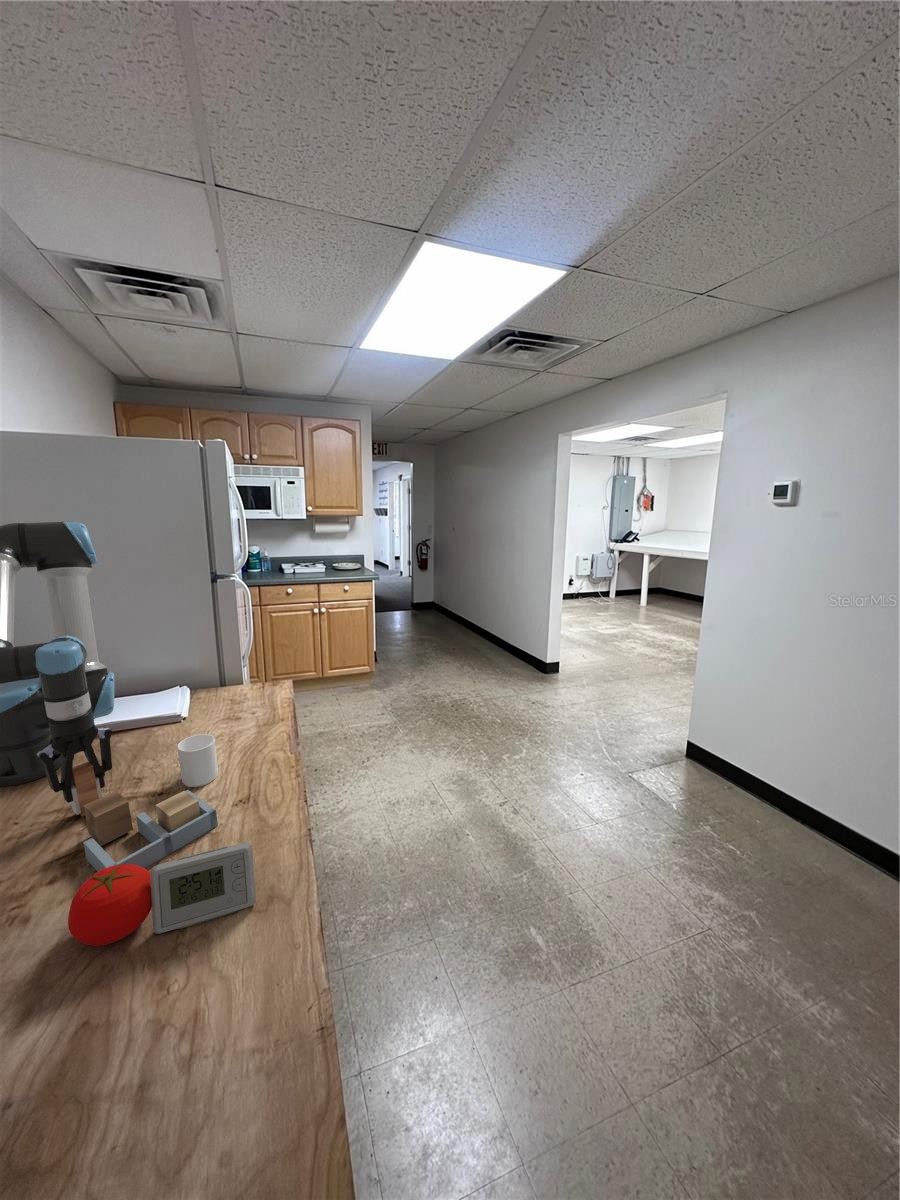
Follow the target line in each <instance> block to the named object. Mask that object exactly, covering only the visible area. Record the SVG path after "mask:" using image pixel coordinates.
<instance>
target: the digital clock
mask: <svg viewBox="0 0 900 1200" xmlns="http://www.w3.org/2000/svg"><path fill="white" fill-rule="evenodd" d="M254 868H255V866H254V853H253V847H252V844H251V843H250V842H242V843H238V844H234V845H229V846H226V845H225V846H223V847H222V846H221V847H218V848H215V849H211V850H207V851H202V852H198V853H193V854H191V855H187V856H182V857H178V858H177V859H174V860H171V861H167V862H163V863H159V864H156V865H155V866H153V867H152V868H151V869H150V871H149V872H150V882H151V899H152V908H151V912H152V913H151V914H152V916H151V917H152V928H153V931H154V933H155V934H164V933H167V932H170V931H173V930H176V929H178V930H180V929H184V928H187V927H190V926H194V925H197V924H201V923H204V922H207V921H211V920H214V919H218V918H221V917H224V916H227V915H230V914H234V913H236V912H238V911H240V910H243V909H246V908H250V907H252V906H254V905H255V904H256V900H257V894H256V893H257V891H256V880H255V877H256V876H255V869H254ZM217 917H218V918H217Z"/></svg>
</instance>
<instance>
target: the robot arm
mask: <svg viewBox="0 0 900 1200" xmlns="http://www.w3.org/2000/svg"><path fill="white" fill-rule="evenodd" d="M92 542H93V541H92V539H91V536H90V534H89V530H88V528H87V526H86V525H85V524H84V523H81V522H77V521H76V522H75V521H74V522H73V521H72V522H71V521H52V522H49V521H48V522H47V521H46V522H21V523H20V522H13V523H11V522H10V523H6V524H2V525H0V685H2V684H4V685H2V686H0V787H9V786H16V785H21V784H26V783H29V782H32V781H33V782H34V781H36V780H38V779H41V778H43V777H45V776H46V779H47V782H48V785H49V788H50V789H51V790H52V791H53V792H54V793H59V792H61V791H62V795H63V800H64V801H66V803H68V804H70V806H71V809H72V811H73V813H75V814H76V815H80V813H81V810H80V805H79V800H78V795H77V790H76V787H75V786H74V785H73V784H72V768H73V766H74V765H73V764H74V763H73V762H74V760H75V755H76V754H78V753H80V752H83V753H84V755H85V758H86V761H88V762H89V763H90V764H91V765H92V766H93V769H94V775H95V780H96V786H97V791H98V797H99V798H101V797H103V794H102V790H101V789H102V788H105V786H106V783H105V778H104V777H105V776H106V773H107V772H108V771H111V770H112V769H113V764H112V763H113V760H112V759H113V758H112V750H111V738H112V734H113V730H111V728H109V727H107V726H103V727H102V728H101V727H100V728H98V727H97V726H96V724H95V719H99V718H102V717H106V716H109V715H111V714H112V713H113V712H114V709H115V708H114V707H115V688H116V687H115V672H111V671H108V666H107V665H105V664H103V663H101V662H100V659H99V652H98V646H97V645H98V644H97V638H96V632H95V626H94V618H93V612H92V605H91V599H90V593H89V585H88V579H87V577H88V575H89V574H90V573H92V572H93V566H92V565H95V564H97V563H98V558H97V556H96V552H95V548H94V546H93V543H92ZM24 568H27V569H28V568H36V571H37V574H38V575H39V576H41V577H42V578H43V579H45V582H46V589H47V594H48V601H49V602H48V603H49V610H50V616H51V622H52V629H53V635H54V638H53V639H51V640H50V641H49V642H41V643H34V644H33V643H32V644H28V645H19V646H15V642H14V641H15V610H16V609H15V607H16V606H15V604H16V603H15V602H16V601H15V600H16V597H15V596H16V577H17V576H19V574H20V573H21V570H22V569H24ZM96 737H98V738H99V749H100V760H101V761H100V762H101V764H100V762H99V760H98V757H97V755H96V754H95V750H94V748H93V745H92V744H93V742H94V741H95V739H96ZM59 768H61V769H60V770H61V771H60V781H59V777H58V774H57V771H56V770H58V769H59Z"/></svg>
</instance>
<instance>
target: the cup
mask: <svg viewBox="0 0 900 1200" xmlns="http://www.w3.org/2000/svg"><path fill="white" fill-rule="evenodd" d="M177 754H178V760H179V761H178V762H179V769H180V777H181V781H182V783H183V785H185V786H186V787H189V788H198V787H203V786H205V785H208V784H209V783H211V782H213V781H214V780H215V779H216V778H217V776H218V775H219V769H218V757H217V748H216V740H215V737H214V736H213V735H212V734H207V733H202V734H201V733H200V734H195V735H191V736H189V737H186V738H183V739H182V740H180V742H179V743H178V744H177Z"/></svg>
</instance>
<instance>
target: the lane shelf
mask: <svg viewBox="0 0 900 1200" xmlns="http://www.w3.org/2000/svg"><path fill="white" fill-rule="evenodd" d="M185 791H186V792H187V793H188V794H190V795H191V796H192V797H194V798H195V799H197V800H198V801H199V809H200V817H198V818H196V819H194V820H192V821H191V822H189V823H187V824H185V825H183V826H182V827H180V828H178V829H176V830H174V831H173V832H171V833H168V832H167V831H165V830H164V829H163V828H162V827H161V826H160V825H159V824H158V822H156V821H155V820H154V819H153V818H151V817H150V816H149V815H148V814H147V813H146V812H145V811H142V812H140V813H138V814H136V815H135V816H136V817H135V818H136V823H137V830H138V832H139V834H141V836H142V837H144V838H145V839H146V840H147V841H148V842H149V844H147V845H145V846H144V847H142V848H140V849H138V850H137V851H135V852H133V853H131V854H129V855H128V856H126V857H124V858H122V859H120V860H119V861H117V862H116V861H115V860H114V859H113V858H112V856H110V855H109V854H108V853H107V851H105V850H104V848H103V847H102V846H100V845H99V844H98V843H97V842H96V841H95V840H94V839H93V838H92V837H91V838H88V839H86V840H84V841H83V847H84V853H85V859H86V860H87V861H88V862H89V864H90V865H91V866H92V867H93V868H94V869H95V870H96V871H97V872H99V871H100V870H103V869H105V868H108V867H111V866H115V865H120V864H121V865H125V864H132V865H137V866H140V867H143V868H145V869H147V868H148V867H150V866H151V865H153V864H155V863H157V862H158V861H160V860H162V859H163V858H165V857H166V856H169V855H170V854H172V853H174V852H175V851H177V850H179V849H181V848H182V847H184V846H186V845H188V844H189V843H190V842H193V841H195V840H196V839H198V838H199V837H201V836H202V835H205V834H206V833H208V832H209V831H211V830H213V829H215V828H216V827H218V825H219V824H218V815H217V809H216V808H214V807H213V806H211V805H210V804H209V803H207V801H204V800H203V799H201V798H200V797H199V796H198V795H196V794H195V793H193V792H192V791H190V790H189V789H186V790H185Z"/></svg>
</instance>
